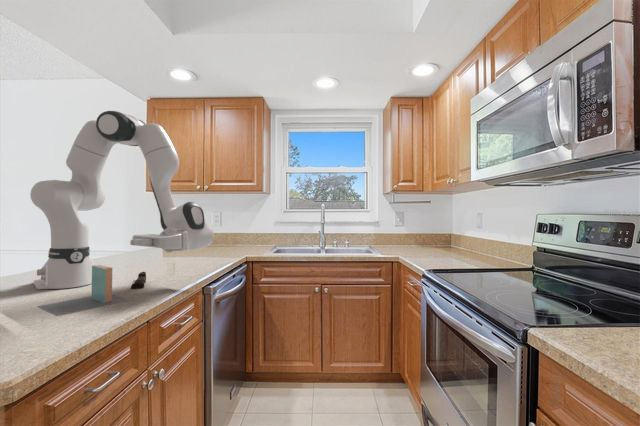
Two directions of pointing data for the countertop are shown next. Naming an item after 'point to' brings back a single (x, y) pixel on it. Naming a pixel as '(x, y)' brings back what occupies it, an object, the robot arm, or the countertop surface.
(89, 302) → the board
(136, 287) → the hand tool
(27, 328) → the countertop surface
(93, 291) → the tile
